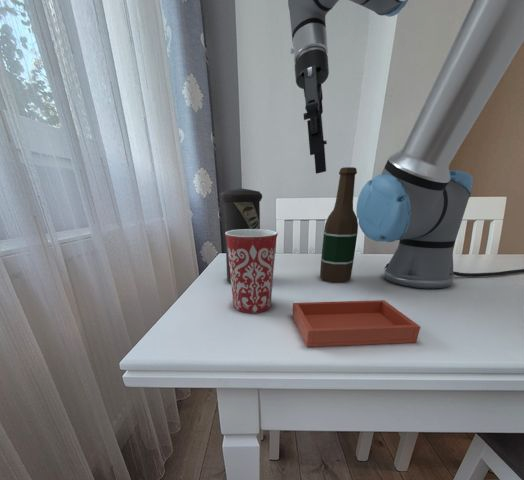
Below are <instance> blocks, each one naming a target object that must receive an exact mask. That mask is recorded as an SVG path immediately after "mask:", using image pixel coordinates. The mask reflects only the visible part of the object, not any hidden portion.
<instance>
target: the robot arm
mask: <svg viewBox="0 0 524 480" xmlns="http://www.w3.org/2000/svg"><path fill="white" fill-rule="evenodd" d="M339 1H340V0H288V1H287V4H288V5H287V7H288V9H289V10H288V11H289V21H290V29H291V31H290V32H291V41H292V42H291V43H292V47H291V48H290V54H291V55H293V62H294V76H295V84H296V86H298V88H299V89H301V90H303V95H304V100H305V106H304V109H305V111H306V112H304V113H303V121H306V120H307V122H306V123H307V133H308V146H309V147H308V148H309V155H310V156H313V158H314V169H315V174H322V173H325V172H327V164H326V150H325V148H326V147H325V145H327V144H328V143H327V140H324V129H323V127H324V126H323V117H322V114H323V111H324V110H323V109H324V108H323V87H322V85H323V84H324V83H325V82H326V81H327V79H328V77H329V74H330V69H329V67H330V66H329V56H328V53H329V51H328V50H329V49H328V37H327V36H328V35H327V26H326V24H327V22H326V17H327V16H326V15H327V14H328V13H329V12H330V11H331V10H333V8H334V7H335V5H336V4H337V3H338V2H339ZM408 1H409V0H349V2H352V3H355V4H357V5H360V6H361V7H364V8H365V9H368V10H370V11H372V12H374V13H375V14H377V15H378V16H385V17H394V16H396V15H398V14H399V13H400V12H401V11H402V9H403V8H405V6H406V5H407V4H408ZM523 43H524V0H472V2H471V4H470V7H469V8H468V10H467V13H466V14H465V17H464V19H463V21H462V23H461V25H460V28H459V30H458V32H457V33H456V36H455V38H454V40H453V42H452V44H451V46H450V48H449V51H448V53H447V55H446V57H445V59H444V61H443V63H442V65H441V66H440V69H439V71H438V72H437V76H436V78H435V80H434V82H433V83H432V86H431V88H430V90H429V92H428V94H427V96H426V98H425V100H424V103H423V105H422V107H421V109H420V111H419V113H418V115H417V117H416V119H415V121H414V123H413V125H412V128H411V130H410V131H409V134H408V135H407V138H406V140H405V143H404V145H403V146H402V148H401V149H400V150H399V151H397V152H395V153H392V154H391V155H389V157H388V158H387V160H386V163H385V165H384V167H383V170H382V171H381V173H380V174H377V175H376V176H374V177H373V178H371V179H370V180H368V181H367V182H366V183H365V184H364V185H363V186H362V188H361V190H360V192H359V194H358V198H357V202H356V209H355V210H356V211H355V212H356V217H357V220H358V227H359V228H360V229H361V231H362V233H363V234H364V235H365V236H366V237H367V238H368V239H370V240H372V241H374V242H385V243H394V242H395V241H399V242H398V245H397V248H396V250H395V252H394V253H393V255H392V257H391V259H390V260H389V262H388V263H386V265H385V266H384V268H383V269H384V274H383V278H384V279H385V280H386V281H388V282H390V283H393V284H396V285H398V286H399V285H400V286H403V287H408V288H415V289H429V290H432V289H433V290H435V289H437V290H438V289H444V288H449V287H451V286H452V284H453V281H454V277H455V276H457V277H467V278H468V277H471V278H473V277H476V278H477V277H495V276H505V275H511V274H521V273H524V268H521V269H520V268H519V269H511V270H510V269H509V270H503V271H493V272H472V273H471V272H459V271H454V247H455V244H456V241H457V237H458V234H459V231H460V229H461V225H462V221H463V218H464V215H465V212H466V208H467V206H468V203H469V200H470V197H471V195H472V188H473V184H474V178H473V176H472V174H471V173H469V172H466V171H462V170H457V169H455V170H454V169H453V170H452V169H449V168H450V164H451V163H452V161H453V159H454V157H455V156H456V154H457V153H458V151H459V149H460V148H461V146H462V144H463V143H464V141H465V139H466V137H467V136H468V134H469V133H470V131H471V129H472V128H473V126H474V124H475V123H476V121H477V119H478V118H479V116H480V114H481V113H482V111H483V109H484V107H485V106H486V104H487V102H488V101H489V99H490V98H491V96H492V94H493V93H494V91H495V90H496V88H497V86H498V84H499V83H500V81H501V79H502V77H503V76H504V74H505V73H506V71H507V69H508V68H509V66H510V64H511V62H512V61H513V59H514V58H515V56H516V54H517V53H518V51H519V50H520V48H521V47H522V45H523Z"/></svg>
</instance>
